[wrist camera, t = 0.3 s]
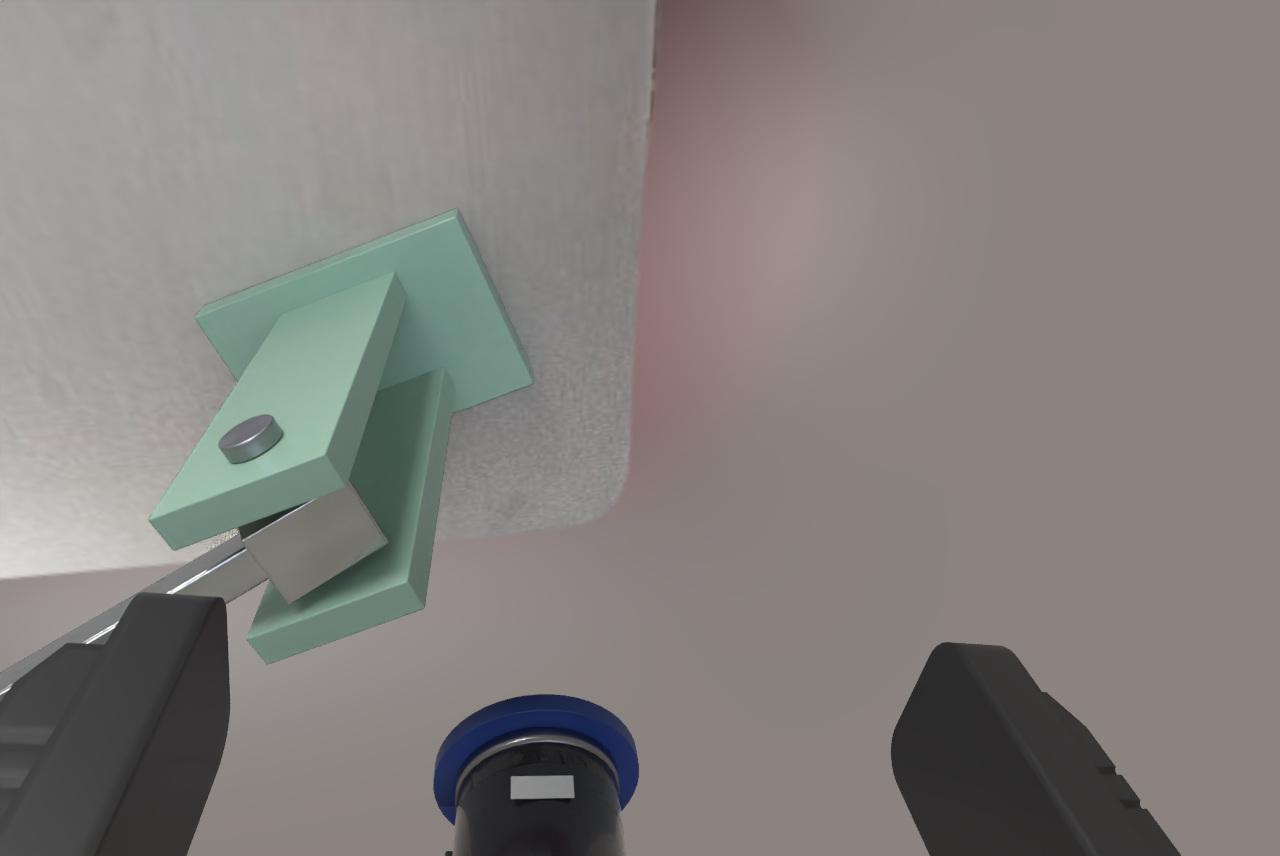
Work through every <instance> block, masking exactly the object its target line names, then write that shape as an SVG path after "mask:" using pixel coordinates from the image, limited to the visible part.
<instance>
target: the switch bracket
mask: <svg viewBox="0 0 1280 856" xmlns="http://www.w3.org/2000/svg"><path fill="white" fill-rule="evenodd" d="M195 319H196V321H197V322H198V324H199V325H200V327H201V328H202V330H203V331H204V333H205V334H206V336H207V337H208V339H209V340H210V342H211V343H212V345H213V346H214V348H215V349H216V350H217V352H218V353H219V355H220V356H221V358H222V359H223V361H224V362H225V364H226V365H227V367H228V368H229V370H230V371H231V373H232V374H233V376H234V377H235V379H236V380H237V384H236V385H235V387H234V388H233V390H232V391H231V393H230V395H229V396H228V398H227V399H226V401H225V402H224V404H223V405H222V407H221V408H220V410H219V411H218V413H217V414H216V416H215V418H214V419H213V421H212V422H211V424H210V425H209V427H208V428H207V430H206V431H205V433H204V434H203V436H202V437H201V439H200V441H199V442H198V444H197V445H196V447H195V448H194V450H193V451H192V453H191V454H190V456H189V457H188V459H187V461H186V462H185V464H184V465H183V467H182V468H181V470H180V471H179V473H178V474H177V476H176V477H175V479H174V480H173V482H172V484H171V485H170V487H169V488H168V490H167V491H166V493H165V494H164V496H163V497H162V499H161V500H160V502H159V504H158V505H157V507H156V508H155V510H154V511H153V513H152V514H151V516H150V517H149V519H148V520H149V522H150V523H151V524H152V525H153V527H154V528H155V529H156V530H157V532H158V533H159V534H160V535H161V536H162V538H163V539H164V540H165V541H166V542H167V544H168V545H169V546H170V547H171V549H172V550H174V551H175V550H178V549H180V548H183V547H186V546H189V545H191V544H194V543H197V542H199V541H202V540H205V539H208V538H210V537H213V536H216V535H218V534H221V533H224V532H227V531H229V530H232V529H235V528H237V527H240V526H243V525H246V524H248V523H251V522H254V521H256V520H259V519H262V518H265V517H267V516H270V515H273V514H275V513H278V512H281V511H284V510H286V509H289V508H292V507H294V506H297V505H300V504H303V503H305V502H308V501H311V500H313V499H316V498H319V497H322V496H324V495H327V494H330V493H333V492H335V491H338V490H341V489H343V488H345V487H346V486H347V483H348V480H349V479H350V481H351V482H352V484H353V485H354V487H355V489H356V490H357V492H358V493H359V495H360V496H361V498H362V499H363V501H364V503H365V504H366V506H367V507H368V509H369V510H370V512H371V514H372V515H373V517H374V519H375V520H376V522H377V524H378V525H379V527H380V528H381V530H382V532H383V533H384V535H385V537H386V538H387V540H388V544H387V545H386V546H384V547H382V548H381V549H379V550H378V551H376V552H374V553H373V554H371V555H369V556H368V557H366V558H365V559H363V560H361V561H360V562H358V563H357V564H355V565H353V566H352V567H350V568H348V569H347V570H345V571H344V572H342V573H340V574H339V575H337V576H335V577H334V578H332V579H331V580H329V581H327V582H326V583H324V584H322V585H321V586H319V587H318V588H316V589H314V590H313V591H311V592H309V593H308V594H306V595H305V596H303V597H301V598H300V599H298V600H297V601H295V602H293V603H292V604H288V603H287V602H286V601H285V599H284V598H283V597H282V595H281V594H280V593H279V591H278V590H277V589H276V587H275V586H274V585H273V583H272V582H271V581H270V580H269V583H268V585H267V588H266V590H265V593H264V595H263V598H262V600H261V603H260V605H259V608H258V610H257V613H256V615H255V618H254V621H253V623H252V626H251V628H250V631H249V633H248V636H247V641H248V642H249V643H250V644H251V646H252V647H253V648H254V649H255V651H256V652H257V653H258V654H259V655H260V657H261V658H262V659H263V660H264V661H265V663H266V664H271V663H274V662H276V661H279V660H282V659H285V658H288V657H291V656H293V655H296V654H298V653H302V652H304V651H307V650H310V649H313V648H316V647H318V646H321V645H324V644H327V643H329V642H332V641H335V640H338V639H341V638H344V637H346V636H349V635H352V634H355V633H358V632H360V631H363V630H366V629H369V628H372V627H374V626H377V625H380V624H383V623H385V622H388V621H391V620H394V619H397V618H400V617H402V616H405V615H408V614H411V613H414V612H416V611H419V610H422V609H424V608H425V602H426V595H427V587H428V580H429V573H430V566H431V559H432V552H433V545H434V537H435V530H436V523H437V516H438V509H439V502H440V495H441V487H442V480H443V473H444V466H445V459H446V452H447V445H448V437H449V430H450V423H451V416H452V414H453V413H456V412H458V411H461V410H464V409H467V408H469V407H472V406H475V405H477V404H480V403H483V402H485V401H488V400H491V399H494V398H496V397H499V396H502V395H504V394H507V393H510V392H512V391H515V390H518V389H520V388H523V387H526V386H529V385H531V384H533V369H532V367H531V365H530V363H529V361H528V358H527V356H526V354H525V352H524V350H523V348H522V345H521V343H520V341H519V339H518V337H517V335H516V332H515V330H514V328H513V326H512V324H511V321H510V319H509V317H508V315H507V313H506V311H505V308H504V306H503V304H502V302H501V300H500V298H499V295H498V293H497V291H496V289H495V287H494V285H493V282H492V280H491V278H490V276H489V274H488V272H487V269H486V267H485V265H484V263H483V261H482V259H481V256H480V254H479V252H478V250H477V248H476V246H475V243H474V241H473V239H472V237H471V235H470V233H469V230H468V228H467V226H466V224H465V222H464V219H463V217H462V215H461V213H460V211H459V209H458V208H456V209H453V210H450V211H448V212H445V213H443V214H440V215H438V216H435V217H432V218H430V219H427V220H425V221H422V222H419V223H417V224H414V225H412V226H409V227H406V228H404V229H401V230H399V231H396V232H393V233H391V234H388V235H386V236H383V237H380V238H378V239H375V240H373V241H370V242H367V243H365V244H362V245H360V246H357V247H354V248H352V249H349V250H347V251H344V252H341V253H339V254H336V255H334V256H331V257H328V258H326V259H323V260H321V261H318V262H315V263H313V264H310V265H308V266H305V267H302V268H300V269H297V270H295V271H292V272H289V273H287V274H284V275H282V276H279V277H276V278H274V279H271V280H269V281H266V282H263V283H261V284H258V285H256V286H253V287H250V288H248V289H245V290H243V291H240V292H237V293H235V294H232V295H230V296H227V297H225V298H222V299H219V300H217V301H214V302H212V303H209V304H206V305H205V306H204V307H203V308H202V309H201V310H200V311H199V312H198V313H197V315H196V316H195Z"/></svg>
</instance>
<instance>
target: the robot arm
mask: <svg viewBox="0 0 1280 856" xmlns="http://www.w3.org/2000/svg"><path fill="white" fill-rule="evenodd" d="M229 715H230V687H229V663H228V636H227V612H226V605H225V601H224V599H223V598H222V597H213V596H197V595H182V594H167V593H151V592H141V593H139V594H137V595H136V596H135V597H134V598H133V599H132V601H131V602H130V603H129V605H128V607H127V608H126V610H125V612H124V613H123V615H122V617H121V618H120V620H119V622H118V623H117V625H116V627H115V628H114V630H113V632H112V633H111V635H110V637H109V638H108V640H107V642H106V643H105V645H102V644H83V643H66V644H65V645H63V646H62V647H61V648H59V649H58V650H57V651H55V652H54V653H53V654H51V655H50V656H49V657H47V658H46V659H45V660H44V661H42V662H41V663H40V664H38V665H37V666H36V667H34V668H33V669H32V670H30V671H29V672H28V673H26V674H25V675H24V676H22V677H21V678H20V679H18V680H17V681H16V682H14V683H13V685H12V686H11V688H10V689H9V691H8V692H7V694H6V695H5V696H4V698H3V699H2V701H1V702H0V856H186V855H187V853H188V850H189V847H190V844H191V842H192V839H193V836H194V834H195V831H196V828H197V825H198V822H199V820H200V817H201V814H202V812H203V809H204V806H205V803H206V801H207V798H208V795H209V793H210V790H211V787H212V784H213V782H214V779H215V776H216V773H217V771H218V768H219V765H220V762H221V758H222V754H223V750H224V746H225V742H226V737H227V731H228V723H229ZM891 760H892V767H893V772H894V776H895V779H896V782H897V785H898V787H899V789H900V791H901V794H902V796H903V798H904V800H905V802H906V804H907V807H908V809H909V811H910V813H911V815H912V817H913V820H914V822H915V824H916V826H917V828H918V830H919V833H920V835H921V837H922V839H923V841H924V843H925V846H926V848H927V850H928V852H929V854H930V856H1181V855H1180V853H1179V852H1178V851H1177V849H1176V848H1175V847H1174V845H1173V844H1172V843H1171V841H1170V840H1169V838H1168V837H1167V836H1166V834H1165V833H1164V832H1163V830H1162V829H1161V828H1160V826H1159V825H1158V824H1157V822H1156V821H1155V820H1154V818H1153V817H1152V815H1151V814H1150V813H1149V811H1148V810H1147V809H1142V808H1141V807H1140V799H1139V798H1138V796H1137V795H1136V794H1135V792H1134V791H1133V790H1132V788H1131V787H1130V786H1129V784H1128V783H1127V782H1126V780H1125V779H1124V778H1123V776H1122V775H1117V774H1116V772H1115V765H1114V764H1113V763H1112V761H1111V760H1110V759H1109V757H1108V756H1107V754H1106V753H1105V752H1104V750H1103V749H1102V748H1101V746H1100V745H1099V744H1098V742H1097V741H1096V740H1095V738H1094V737H1093V735H1092V734H1091V733H1090V731H1089V730H1088V729H1087V728H1086V726H1084V725H1083V724H1082V723H1081V722H1080V721H1079V720H1077V719H1076V718H1075V717H1074V716H1073V715H1072V714H1071V713H1070V712H1068V711H1067V710H1066V709H1065V708H1064V707H1063V706H1061V705H1060V704H1059V703H1058V702H1057V701H1056V700H1055V699H1053V698H1052V697H1051V696H1050V695H1049V694H1048V693H1046V692H1042V691H1041V690H1040V689H1039V687H1038V686H1037V684H1036V683H1035V682H1034V680H1033V679H1032V677H1031V676H1030V675H1029V673H1028V672H1027V670H1026V669H1025V668H1024V666H1023V665H1022V663H1021V662H1020V661H1019V659H1018V658H1017V657H1016V655H1015V654H1014V653H1013V652H1011V651H1010V650H1009V649H1007V648H1005V647H1003V646H996V645H980V644H965V643H950V642H945V643H941V644H940V645H938V646H936V647H935V649H934V650H933V651H932V653H931V654H930V656H929V658H928V661H927V662H926V665H925V667H924V669H923V671H922V673H921V675H920V677H919V679H918V681H917V683H916V686H915V688H914V690H913V692H912V694H911V696H910V698H909V700H908V702H907V704H906V706H905V708H904V711H903V713H902V715H901V717H900V719H899V721H898V723H897V725H896V727H895V730H894V733H893V737H892V744H891ZM619 792H620V786H619V777H618V769H617V765H616V763H615V760H614V758H613V757H612V755H611V754H610V752H609V751H608V750H607V749H606V748H605V747H604V746H603V745H602V744H600V743H599V742H598V741H596V740H595V739H593V738H591V737H589V736H587V735H585V734H582V733H580V732H576V731H573V730H568V729H563V728H554V727H537V728H528V729H522V730H517V731H513V732H510V733H507V734H504V735H501V736H499V737H496V738H494V739H492V740H490V741H489V742H487V743H485V744H484V745H482V746H481V747H479V748H478V749H477V750H475V751H474V752H473V753H472V754H471V755H470V756H469V757H468V758H467V760H466V761H465V762H464V764H463V765H462V767H461V769H460V771H459V773H458V776H457V781H456V791H455V807H456V818H455V831H454V843H453V851H447V852H446V853H445V856H626V852H625V843H624V835H623V825H622V816H621V808H620V800H619Z"/></svg>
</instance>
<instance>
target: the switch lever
mask: <svg viewBox="0 0 1280 856" xmlns="http://www.w3.org/2000/svg"><path fill="white" fill-rule="evenodd" d="M237 530H238V533H239V534H238V535H236V536H235V537H233V538H231V539H230V540H228V541H226V542H224V543H223V544H221V545H219V546H217V547H216V548H214V549H212V550H211V551H209V552H207V553H205V554H204V555H202V556H200V557H198V558H197V559H195V560H193V561H191V562H190V563H188V564H186V565H185V566H183V567H181V568H179V569H178V570H176V571H174V572H172V573H171V574H169V575H167V576H166V577H164V578H162V579H160V580H159V581H157V582H155V583H153V584H152V585H150V586H148V587H147V588H145V589H143V590H141V591H140V592H138V593H136V594H134V595H133V596H131V597H129V598H128V599H126V600H124V601H122V602H121V603H119V604H117V605H116V606H114V607H112V608H110V609H108V610H107V611H105V612H103V613H102V614H100V615H98V616H96V617H95V618H93V619H91V620H89V621H88V622H86V623H84V624H83V625H81V626H79V627H78V628H76V629H74V630H73V631H70V632H69V633H67V634H65V635H64V636H62V637H60V638H58V639H57V640H55V641H53V642H51V643H50V644H48V645H46V646H45V647H43V648H41V649H40V650H38V651H36V652H34V653H32V654H31V655H29V656H27V657H25V658H24V659H22V660H20V661H19V662H17V663H15V664H13V665H12V666H10V667H8V668H7V669H5V670H3V671H2V672H0V702H1V701H2V699H3V698H4V696H5V695H6V694H7V692H8V691H9V689H10V688H11V686H12V685H13V683H14V682H16V681H17V680H18V679H20V678H21V677H22V676H24V675H25V674H26V673H28V672H29V671H30V670H32V669H33V668H34V667H36V666H37V665H38V664H40V663H41V662H42V661H44V660H45V659H46V658H47V657H49V656H50V655H51V654H53V653H54V652H55V651H57V650H58V649H59V648H61V647H62V646H63V645H65V644H66V643H83V644H102V645H105V643H106V642H107V640H108V638H109V637H110V635H111V633H112V632H113V630H114V628H115V627H116V625H117V623H118V622H119V620H120V618H121V617H122V615H123V613H124V612H125V610H126V608H127V607H128V605H129V603H130V602H131V601H132V599H133V598H134V597H135V596H136V595H137V594H139V593H141V592H151V593H167V594H182V595H197V596H213V597H222V598H223V599H224V601H225V605H226V604H227V603H229V602H231V601H232V600H234V599H236V598H237V597H239V596H240V595H242V594H244V593H245V592H247V591H249V590H251V589H252V588H254V587H255V586H257V585H259V584H260V583H262V582H264V581H266V580H267V579H270V581H271V582H272V583H273V585H274V586H275V587H276V589H277V590H278V591H279V593H280V594H281V595H282V597H283V598H284V599H285V601H286V602H287V603H288V604H292V603H293V602H295V601H297V600H298V599H300V598H301V597H303V596H305V595H306V594H308V593H309V592H311V591H313V590H314V589H316V588H318V587H319V586H321V585H322V584H324V583H326V582H327V581H329V580H331V579H332V578H334V577H335V576H337V575H339V574H340V573H342V572H344V571H345V570H347V569H348V568H350V567H352V566H353V565H355V564H357V563H358V562H360V561H361V560H363V559H365V558H366V557H368V556H369V555H371V554H373V553H374V552H376V551H378V550H379V549H381V548H382V547H384V546H386V545H387V544H388V540H387V538H386V537H385V535H384V533H383V532H382V530H381V528H380V527H379V525H378V524H377V522H376V520H375V519H374V517H373V515H372V514H371V512H370V510H369V509H368V507H367V506H366V504H365V503H364V501H363V499H362V498H361V496H360V495H359V493H358V492H357V490H356V489H355V487H354V485H353V484H352V482H351V481H350V479H349V480H348V483H347V486H346V487H345V488H343V489H341V490H338V491H335V492H333V493H330V494H327V495H324V496H322V497H319V498H316V499H313V500H311V501H308V502H305V503H303V504H300V505H297V506H294V507H292V508H289V509H286V510H284V511H281V512H278V513H275V514H273V515H270V516H267V517H265V518H262V519H259V520H256V521H254V522H251V523H248V524H246V525H243V526H240V527H237Z"/></svg>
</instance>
